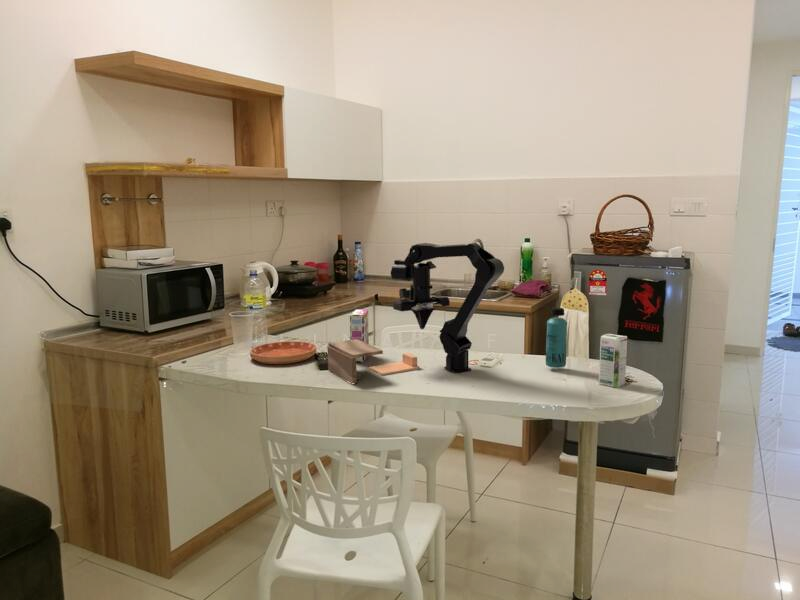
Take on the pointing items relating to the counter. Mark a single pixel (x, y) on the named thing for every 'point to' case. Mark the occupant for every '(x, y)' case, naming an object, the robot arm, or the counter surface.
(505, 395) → the counter surface
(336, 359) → the overhang shelf
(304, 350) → the saucer
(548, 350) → the beverage bottle
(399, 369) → the wooden plank with block
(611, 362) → the syrup box
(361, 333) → the candy bar box
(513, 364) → the counter surface
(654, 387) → the counter surface
